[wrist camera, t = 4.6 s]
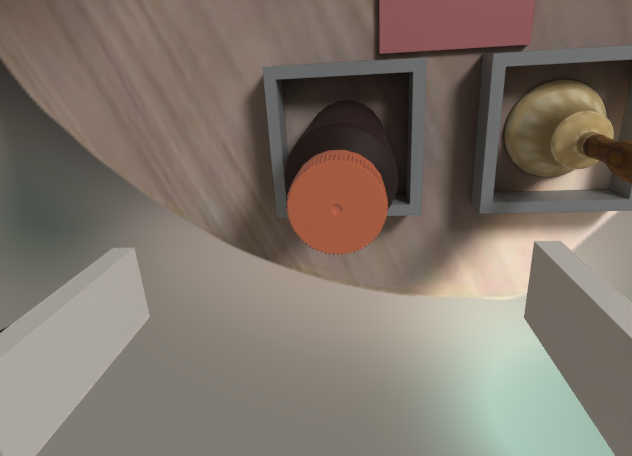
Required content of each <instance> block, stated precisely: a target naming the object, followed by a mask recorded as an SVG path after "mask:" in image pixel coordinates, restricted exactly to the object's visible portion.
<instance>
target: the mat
mask: <svg viewBox="0 0 632 456" xmlns="http://www.w3.org/2000/svg"><path fill="white" fill-rule="evenodd" d="M534 6H535V0H379V54H385V53H401V52H417V51H433V50H450V49H466V48H482V47H498V46H515V45H530V41H531V32H532V23H533V15H534Z"/></svg>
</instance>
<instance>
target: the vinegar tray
mask: <svg viewBox="0 0 632 456" xmlns="http://www.w3.org/2000/svg"><path fill="white" fill-rule="evenodd" d="M426 65H427V57H424V58H407V59H391V60H374V61H357V62H341V63H324V64H307V65H291V66H274V67H262V68H263V78H264V89H265V99H266V110H267V121H268V131H269V142H270V152H271V163H272V173H273V184H274V194H275V205H276V215H277V218H287V217H288V214H287V212H288V210H286V209H287V207H288V206H286V204H287V202H286V201H287V199H288V198H287V194H286V191H285V180H284V171H285V167H286V163H287V159H288V149H287V137H286V124H285V112H284V99H283V87H282V79H295V78H313V77H331V76H348V75H366V74H384V73H401V72H409V97H408V144H407V191H406V195H395V197H394V199H393V202H392V205H391V206H390V208H389V209H388V213H387V216H406V215H421V209H422V180H423V152H424V123H425V94H426Z"/></svg>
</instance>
